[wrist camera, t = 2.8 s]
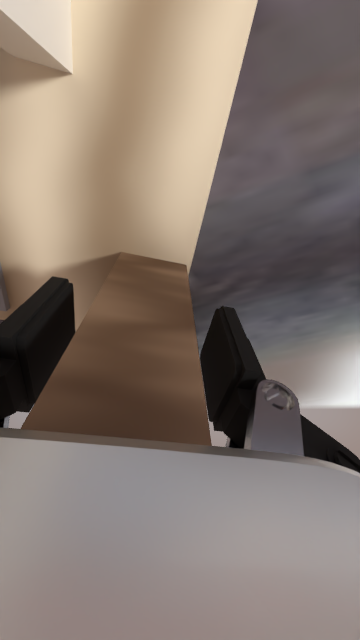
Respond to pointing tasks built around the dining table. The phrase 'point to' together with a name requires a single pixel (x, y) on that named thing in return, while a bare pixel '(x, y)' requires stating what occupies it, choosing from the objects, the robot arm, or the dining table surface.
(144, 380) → the brown wooden block
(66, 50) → the tile
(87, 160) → the board
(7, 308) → the mat
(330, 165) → the dining table surface
